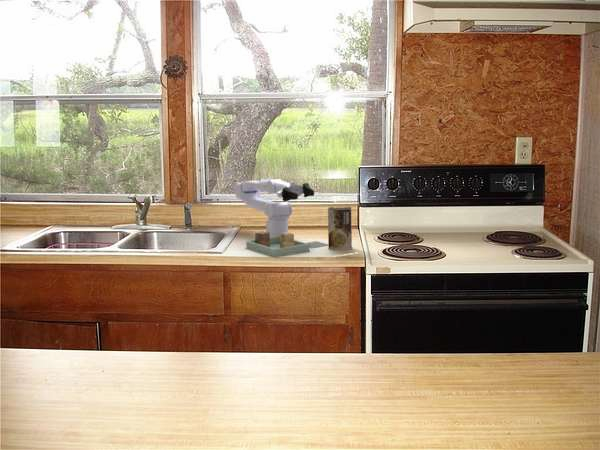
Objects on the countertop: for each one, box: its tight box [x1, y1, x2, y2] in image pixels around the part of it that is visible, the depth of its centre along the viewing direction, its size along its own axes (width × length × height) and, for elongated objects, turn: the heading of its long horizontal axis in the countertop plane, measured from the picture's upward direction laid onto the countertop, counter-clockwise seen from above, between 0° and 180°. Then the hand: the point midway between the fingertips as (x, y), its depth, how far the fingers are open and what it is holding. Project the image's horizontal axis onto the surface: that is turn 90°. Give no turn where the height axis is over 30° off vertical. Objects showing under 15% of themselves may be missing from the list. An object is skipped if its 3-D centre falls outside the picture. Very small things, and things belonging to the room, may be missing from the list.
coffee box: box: [327, 206, 353, 250], centre depth 250 cm, size 9×6×16 cm
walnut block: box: [254, 230, 270, 247], centre depth 252 cm, size 4×4×6 cm
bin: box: [245, 236, 311, 258], centre depth 249 cm, size 20×16×3 cm
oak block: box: [279, 231, 295, 248], centre depth 249 cm, size 4×4×6 cm
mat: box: [306, 240, 328, 249], centre depth 257 cm, size 10×10×1 cm
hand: (305, 194), depth 251 cm, fingers open, 7 cm apart
